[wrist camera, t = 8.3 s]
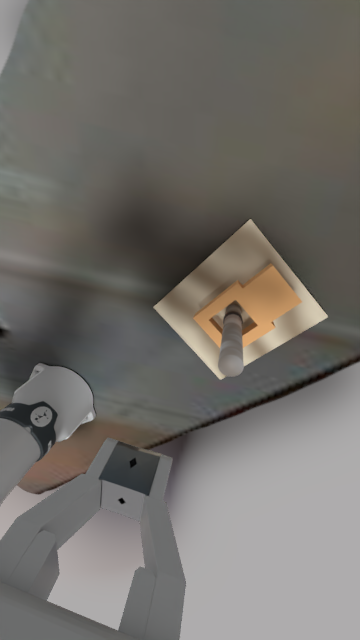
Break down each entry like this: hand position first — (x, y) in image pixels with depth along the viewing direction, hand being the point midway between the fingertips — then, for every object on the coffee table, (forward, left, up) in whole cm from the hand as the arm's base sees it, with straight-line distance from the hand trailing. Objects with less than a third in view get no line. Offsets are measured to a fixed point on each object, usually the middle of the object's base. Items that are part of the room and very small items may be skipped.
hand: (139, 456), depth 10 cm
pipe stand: (+1, -5, -29) cm, 30 cm away
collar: (+3, -5, -25) cm, 26 cm away
